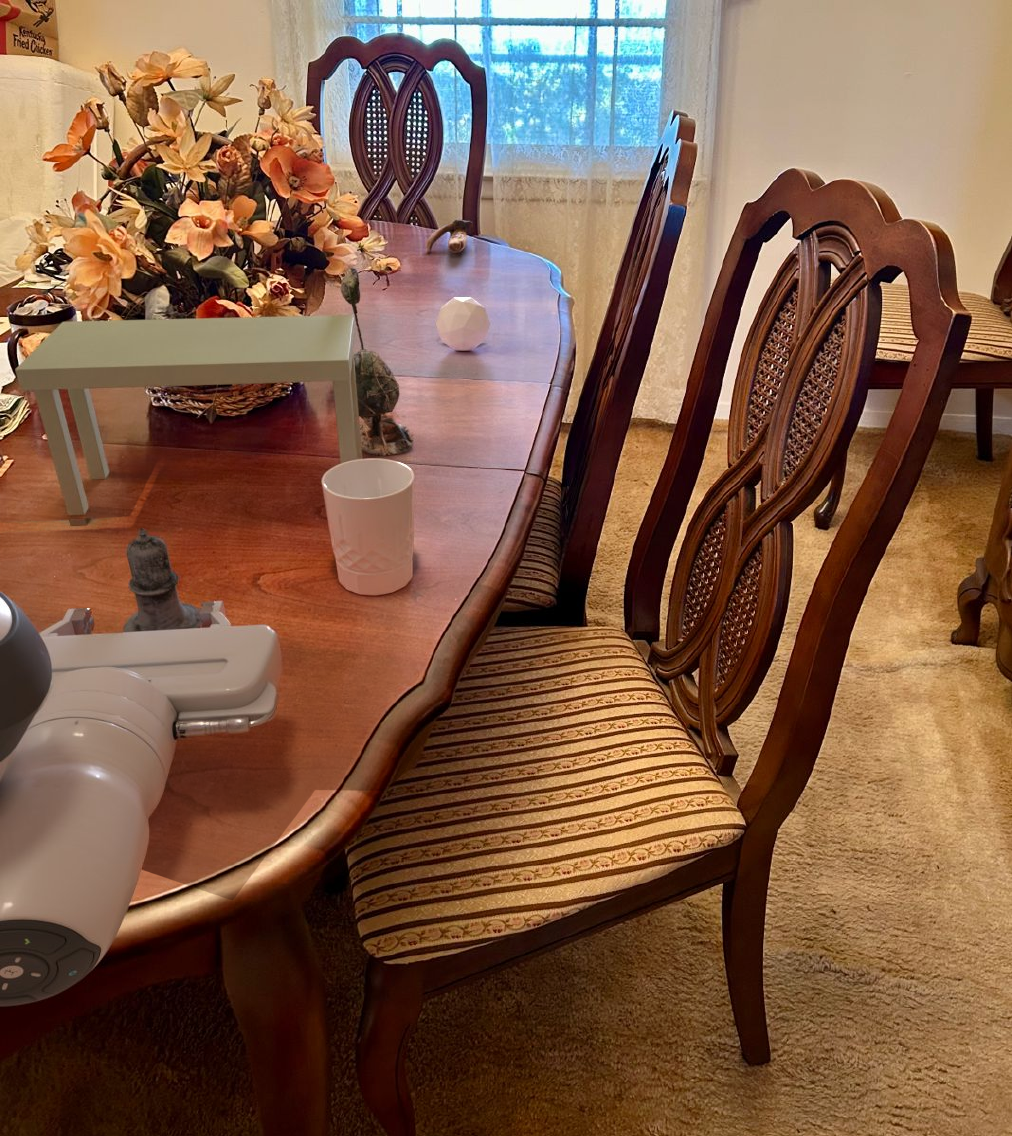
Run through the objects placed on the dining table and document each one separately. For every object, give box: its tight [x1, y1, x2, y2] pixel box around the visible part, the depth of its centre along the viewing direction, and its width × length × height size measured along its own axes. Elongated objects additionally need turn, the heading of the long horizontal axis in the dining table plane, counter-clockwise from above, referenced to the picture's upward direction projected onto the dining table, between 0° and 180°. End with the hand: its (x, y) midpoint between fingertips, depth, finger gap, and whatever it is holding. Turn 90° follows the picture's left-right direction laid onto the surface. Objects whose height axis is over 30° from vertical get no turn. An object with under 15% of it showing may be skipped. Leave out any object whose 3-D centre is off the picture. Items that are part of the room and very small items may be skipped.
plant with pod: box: [340, 267, 414, 457], centre depth 104 cm, size 8×11×20 cm
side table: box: [14, 314, 363, 527], centre depth 93 cm, size 29×14×17 cm, turn 96°
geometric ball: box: [435, 296, 491, 351], centre depth 137 cm, size 8×8×8 cm
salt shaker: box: [122, 527, 202, 632], centre depth 71 cm, size 6×6×12 cm
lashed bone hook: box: [426, 219, 474, 254], centre depth 193 cm, size 9×5×18 cm
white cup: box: [321, 457, 415, 596], centre depth 82 cm, size 8×8×10 cm
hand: (149, 612), depth 68 cm, fingers open, 8 cm apart
